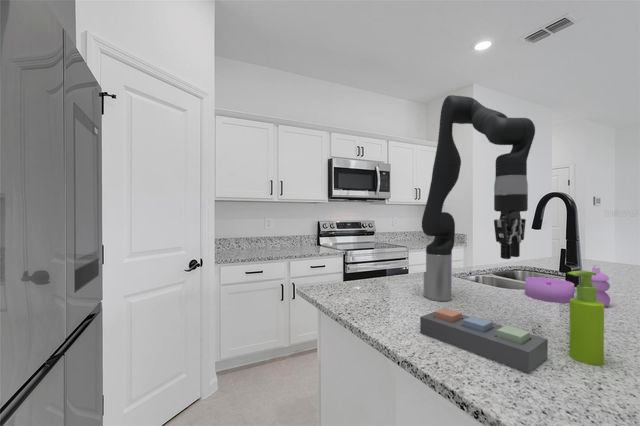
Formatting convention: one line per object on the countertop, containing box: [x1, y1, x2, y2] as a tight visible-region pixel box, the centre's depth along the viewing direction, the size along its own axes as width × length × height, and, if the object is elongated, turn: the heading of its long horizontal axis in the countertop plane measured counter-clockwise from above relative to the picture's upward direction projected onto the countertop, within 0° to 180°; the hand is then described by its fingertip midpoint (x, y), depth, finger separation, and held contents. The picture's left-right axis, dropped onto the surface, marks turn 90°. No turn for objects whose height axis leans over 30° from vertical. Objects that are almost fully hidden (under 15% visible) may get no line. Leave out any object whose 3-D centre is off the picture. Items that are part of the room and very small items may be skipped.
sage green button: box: [497, 325, 531, 345], centre depth 70 cm, size 5×5×3 cm
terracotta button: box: [434, 307, 463, 323], centre depth 82 cm, size 5×5×3 cm
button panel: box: [419, 311, 549, 375], centre depth 76 cm, size 26×11×4 cm, turn 37°
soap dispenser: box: [566, 270, 605, 366], centre depth 69 cm, size 6×7×20 cm
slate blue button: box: [463, 315, 494, 333], centre depth 76 cm, size 5×5×3 cm
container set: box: [524, 268, 611, 308], centre depth 115 cm, size 25×15×13 cm, turn 44°
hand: (510, 257), depth 80 cm, fingers open, 5 cm apart
